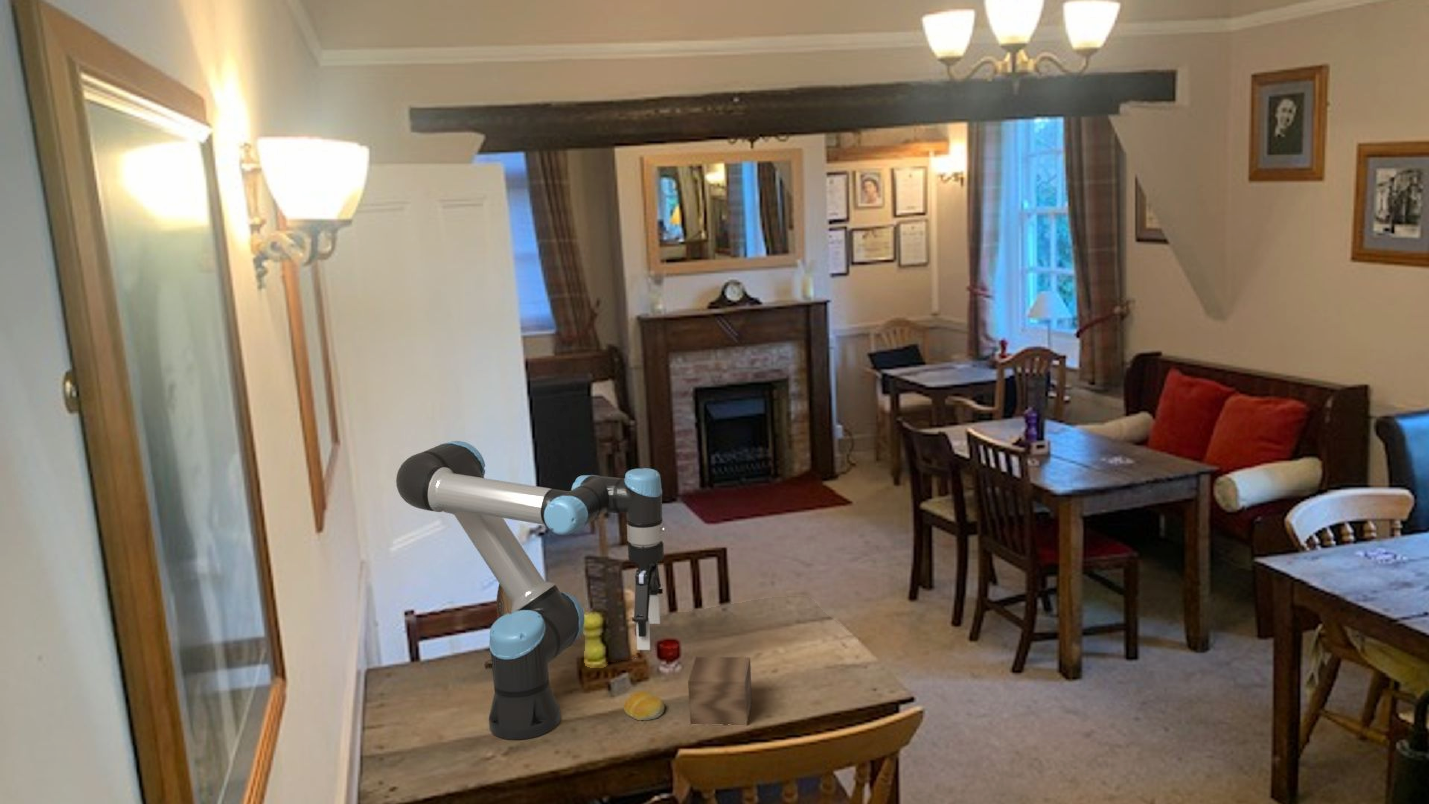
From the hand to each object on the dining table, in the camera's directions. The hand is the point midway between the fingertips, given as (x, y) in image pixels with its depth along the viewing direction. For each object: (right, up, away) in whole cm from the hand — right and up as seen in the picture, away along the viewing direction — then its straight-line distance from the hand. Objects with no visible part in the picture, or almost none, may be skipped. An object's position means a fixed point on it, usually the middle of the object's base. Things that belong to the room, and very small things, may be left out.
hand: (649, 635), depth 229 cm
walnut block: (+16, -17, +1) cm, 23 cm away
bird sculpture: (-34, -14, +29) cm, 47 cm away
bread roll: (-1, -17, +3) cm, 18 cm away
